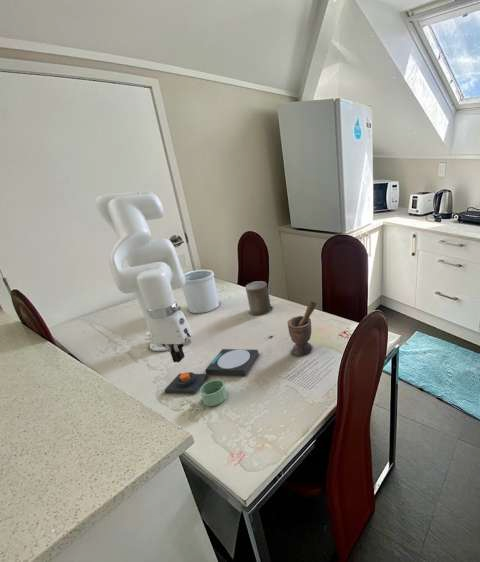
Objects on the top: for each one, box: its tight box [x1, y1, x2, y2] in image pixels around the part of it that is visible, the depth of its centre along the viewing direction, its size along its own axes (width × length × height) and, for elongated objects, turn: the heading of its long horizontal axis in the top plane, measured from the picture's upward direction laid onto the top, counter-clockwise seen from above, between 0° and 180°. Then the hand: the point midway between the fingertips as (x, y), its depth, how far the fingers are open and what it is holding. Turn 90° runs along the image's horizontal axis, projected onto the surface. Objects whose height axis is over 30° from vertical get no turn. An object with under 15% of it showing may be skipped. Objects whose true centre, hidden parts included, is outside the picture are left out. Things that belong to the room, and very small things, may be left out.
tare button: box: [180, 372, 190, 382], centre depth 104 cm, size 3×3×2 cm
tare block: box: [164, 371, 209, 395], centre depth 105 cm, size 10×8×3 cm
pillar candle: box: [244, 280, 272, 316], centre depth 150 cm, size 10×10×15 cm
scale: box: [205, 348, 260, 377], centre depth 114 cm, size 14×12×3 cm
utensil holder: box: [182, 269, 220, 314], centre depth 153 cm, size 15×15×18 cm
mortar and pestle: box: [287, 299, 317, 356], centre depth 120 cm, size 12×9×20 cm
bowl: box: [199, 379, 228, 407], centre depth 98 cm, size 7×7×5 cm
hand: (179, 359), depth 101 cm, fingers closed
